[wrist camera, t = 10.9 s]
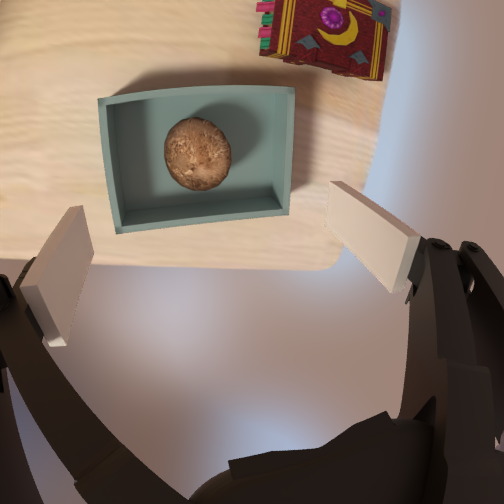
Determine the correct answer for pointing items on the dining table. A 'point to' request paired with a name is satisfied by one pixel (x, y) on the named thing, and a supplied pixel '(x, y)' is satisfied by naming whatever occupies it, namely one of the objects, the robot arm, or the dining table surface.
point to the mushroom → (197, 154)
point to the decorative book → (327, 34)
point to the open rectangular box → (155, 170)
